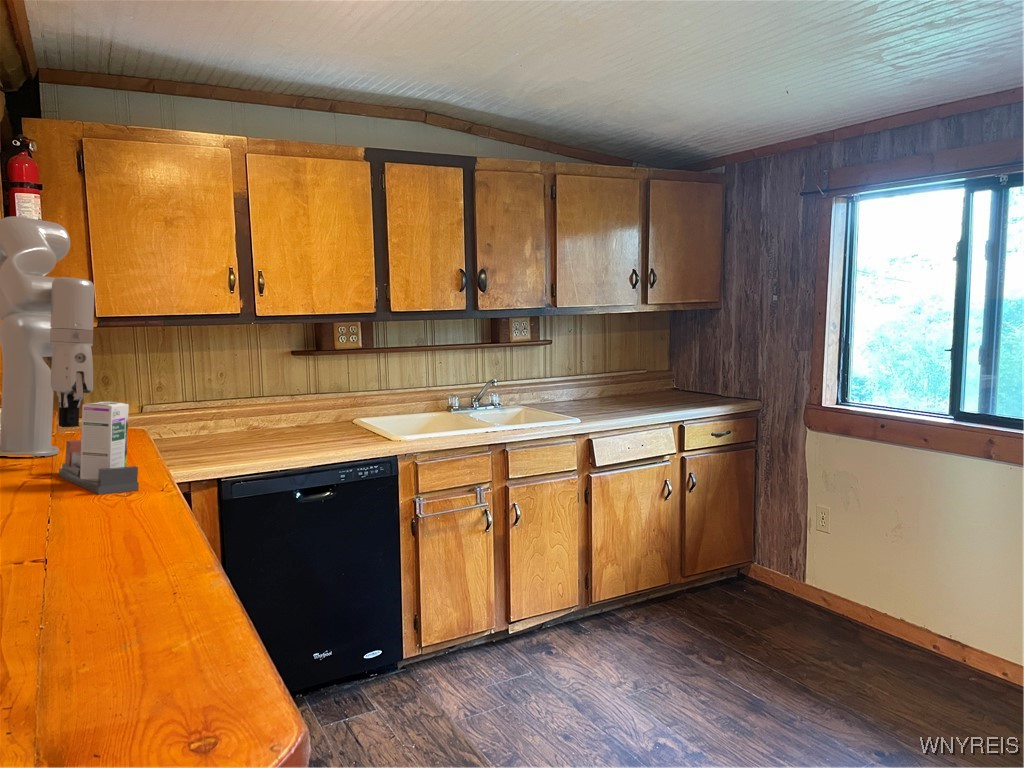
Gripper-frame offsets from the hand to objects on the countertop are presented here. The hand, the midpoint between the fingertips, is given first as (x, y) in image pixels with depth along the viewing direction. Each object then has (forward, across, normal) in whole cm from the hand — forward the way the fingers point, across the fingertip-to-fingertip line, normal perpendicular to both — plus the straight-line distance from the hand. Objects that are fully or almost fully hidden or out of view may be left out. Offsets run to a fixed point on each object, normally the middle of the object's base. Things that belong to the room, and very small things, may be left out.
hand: (68, 426), depth 145 cm
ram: (+8, -8, 0) cm, 11 cm away
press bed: (+10, -15, 0) cm, 18 cm away
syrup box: (+8, -18, 0) cm, 20 cm away
